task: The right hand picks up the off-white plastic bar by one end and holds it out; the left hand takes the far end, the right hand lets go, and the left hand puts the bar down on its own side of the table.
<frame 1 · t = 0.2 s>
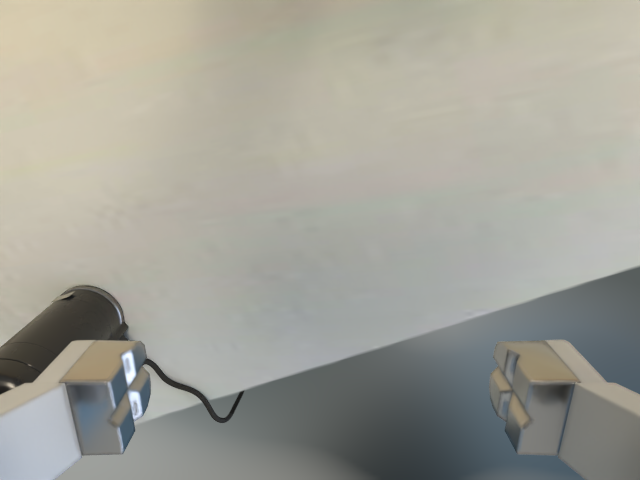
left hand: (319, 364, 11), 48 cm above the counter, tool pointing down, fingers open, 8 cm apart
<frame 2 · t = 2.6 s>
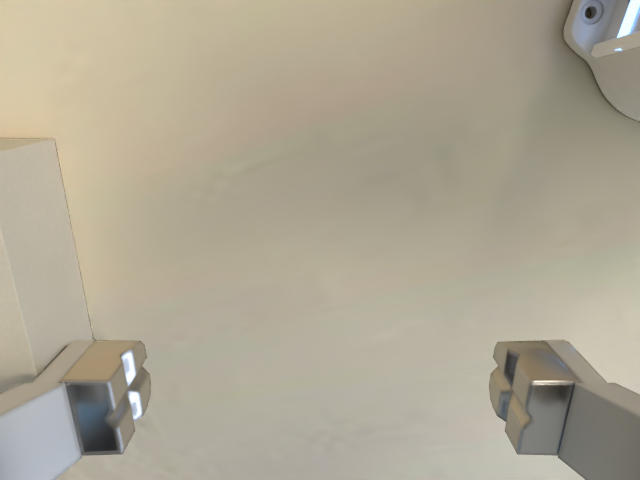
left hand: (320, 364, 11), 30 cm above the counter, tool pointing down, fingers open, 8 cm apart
bar: (52, 264, 42), on the counter, touching right hand
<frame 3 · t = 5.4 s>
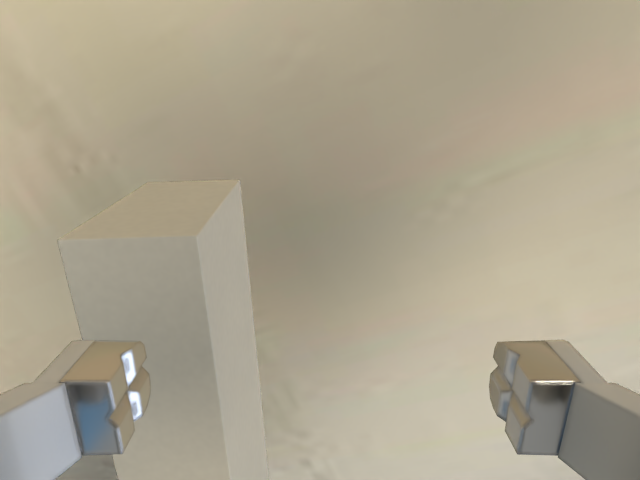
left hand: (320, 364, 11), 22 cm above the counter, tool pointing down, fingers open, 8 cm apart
bar: (218, 365, 28), point 8 cm above the counter, touching right hand
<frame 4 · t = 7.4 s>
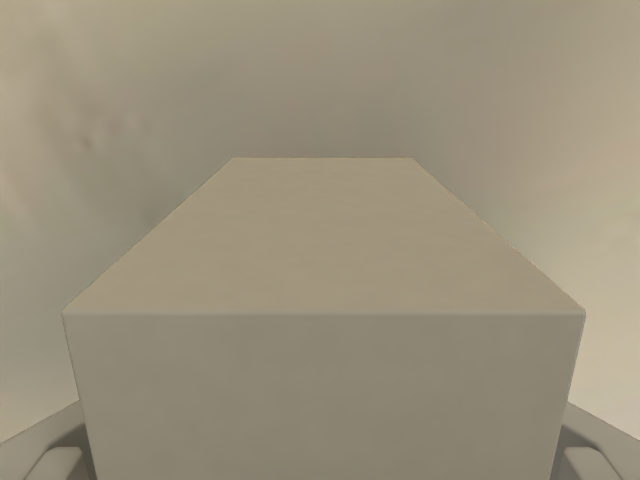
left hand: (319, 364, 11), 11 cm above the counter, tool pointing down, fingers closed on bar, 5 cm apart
when the right hand's fingers open (12 cm above the counter, at t = 8.5 s): bar stays where it is, held by the left hand.
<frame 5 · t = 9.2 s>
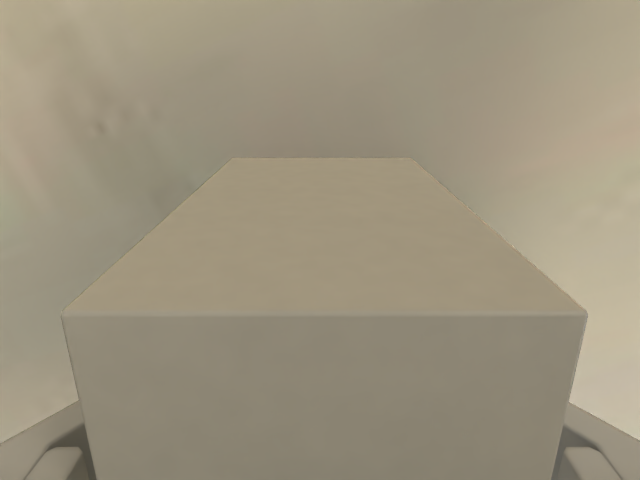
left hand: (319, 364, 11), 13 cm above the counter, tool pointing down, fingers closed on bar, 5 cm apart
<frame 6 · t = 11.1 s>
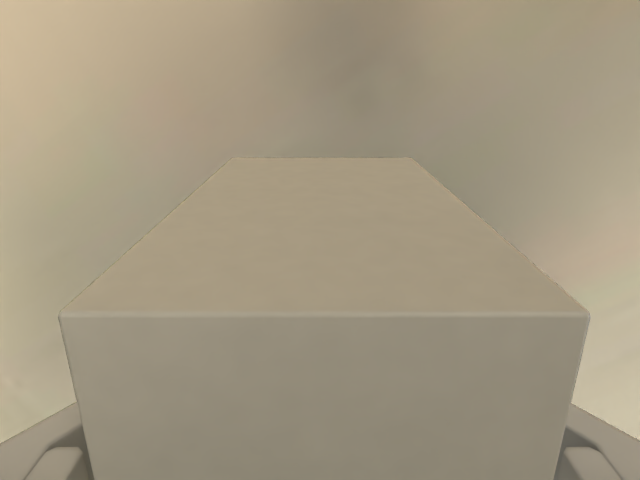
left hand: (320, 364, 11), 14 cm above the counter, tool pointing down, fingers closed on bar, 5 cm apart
when the left hand's fingers open (5 cm above the counter, at t = 12.8 s): bar stays where it is, on the counter.
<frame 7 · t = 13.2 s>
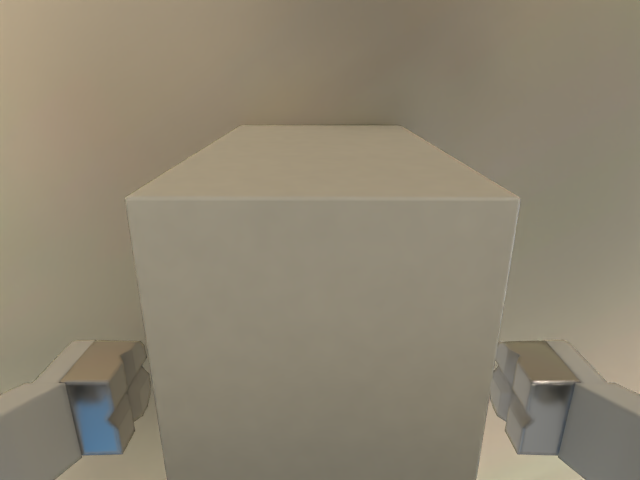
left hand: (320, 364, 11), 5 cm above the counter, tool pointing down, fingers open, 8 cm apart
bar: (319, 429, 18), on the counter
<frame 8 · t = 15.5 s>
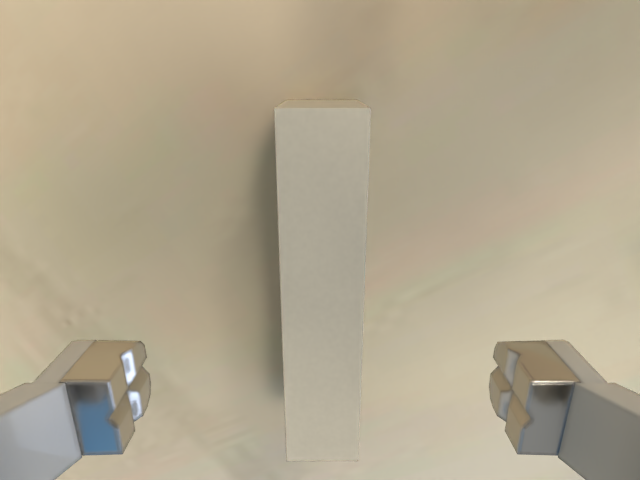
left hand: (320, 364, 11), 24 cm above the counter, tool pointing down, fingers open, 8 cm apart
bar: (321, 256, 35), on the counter
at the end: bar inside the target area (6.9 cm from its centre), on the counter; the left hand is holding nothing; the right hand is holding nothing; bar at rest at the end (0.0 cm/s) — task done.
